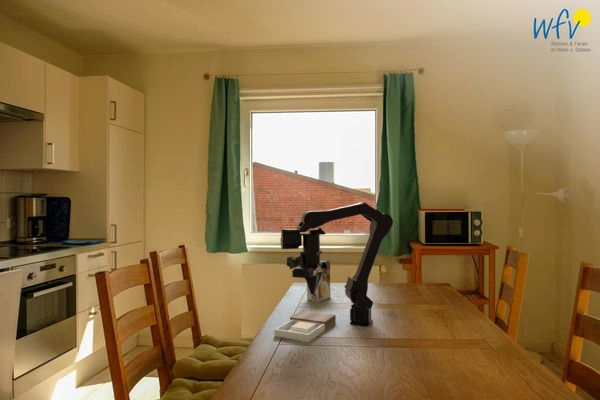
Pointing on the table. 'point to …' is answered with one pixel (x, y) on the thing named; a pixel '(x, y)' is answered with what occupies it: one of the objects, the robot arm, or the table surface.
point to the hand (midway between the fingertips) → (312, 294)
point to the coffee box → (321, 287)
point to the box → (286, 332)
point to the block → (303, 327)
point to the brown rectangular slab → (316, 318)
